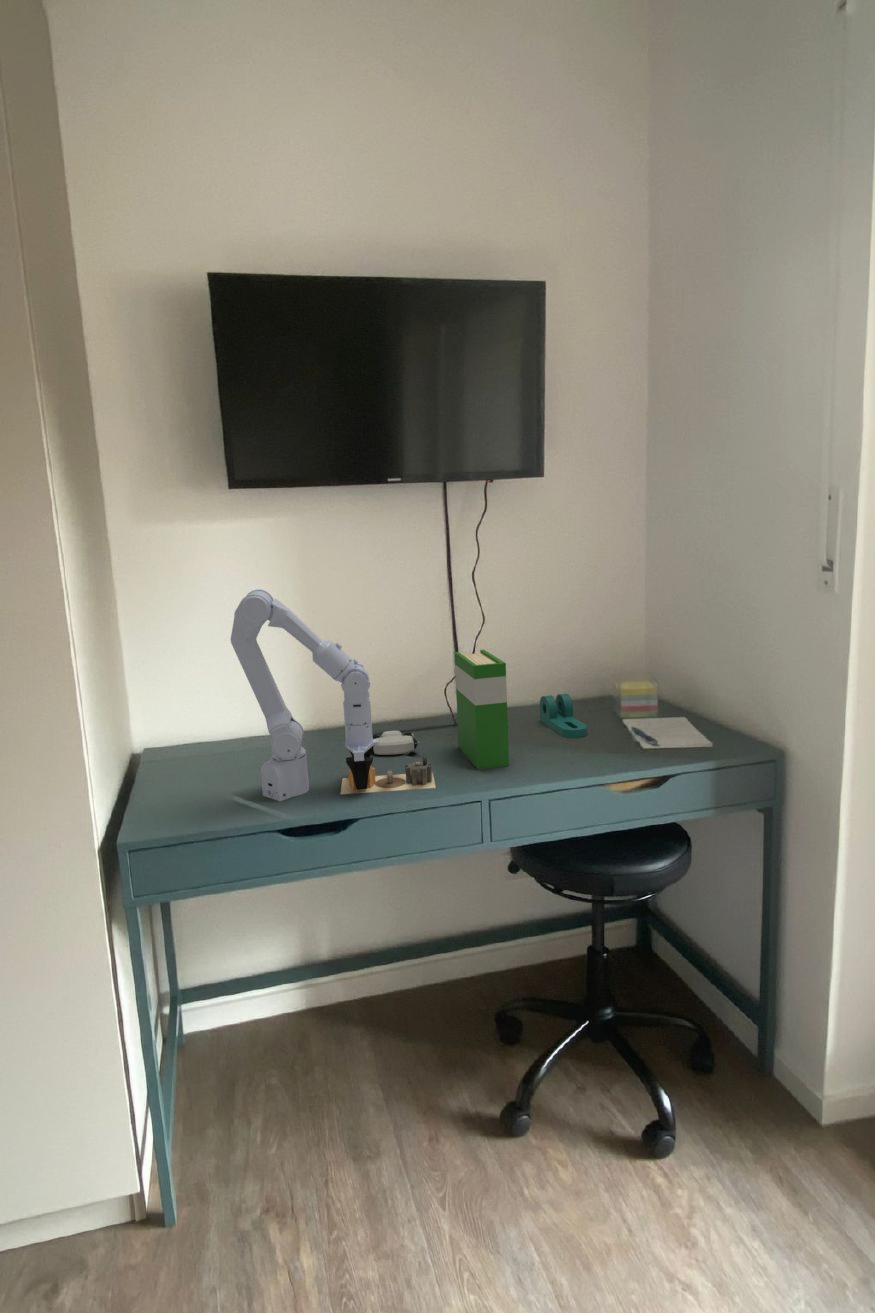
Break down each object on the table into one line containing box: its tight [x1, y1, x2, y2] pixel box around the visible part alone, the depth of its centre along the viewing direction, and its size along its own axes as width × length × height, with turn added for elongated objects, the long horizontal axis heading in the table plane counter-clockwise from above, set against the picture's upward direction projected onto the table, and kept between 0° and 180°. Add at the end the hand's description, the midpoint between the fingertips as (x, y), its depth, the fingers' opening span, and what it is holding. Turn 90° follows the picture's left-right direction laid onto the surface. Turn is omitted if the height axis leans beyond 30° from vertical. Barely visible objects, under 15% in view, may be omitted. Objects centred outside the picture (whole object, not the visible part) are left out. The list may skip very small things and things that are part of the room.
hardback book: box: [454, 649, 510, 771], centre depth 192 cm, size 18×7×24 cm, turn 13°
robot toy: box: [371, 730, 420, 756], centre depth 201 cm, size 12×4×15 cm
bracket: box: [539, 693, 588, 739], centre depth 213 cm, size 18×7×8 cm, turn 14°
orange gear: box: [347, 765, 376, 789], centre depth 176 cm, size 6×6×4 cm
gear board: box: [340, 756, 437, 795], centre depth 176 cm, size 20×10×6 cm, turn 94°
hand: (362, 782), depth 176 cm, fingers open, 7 cm apart
